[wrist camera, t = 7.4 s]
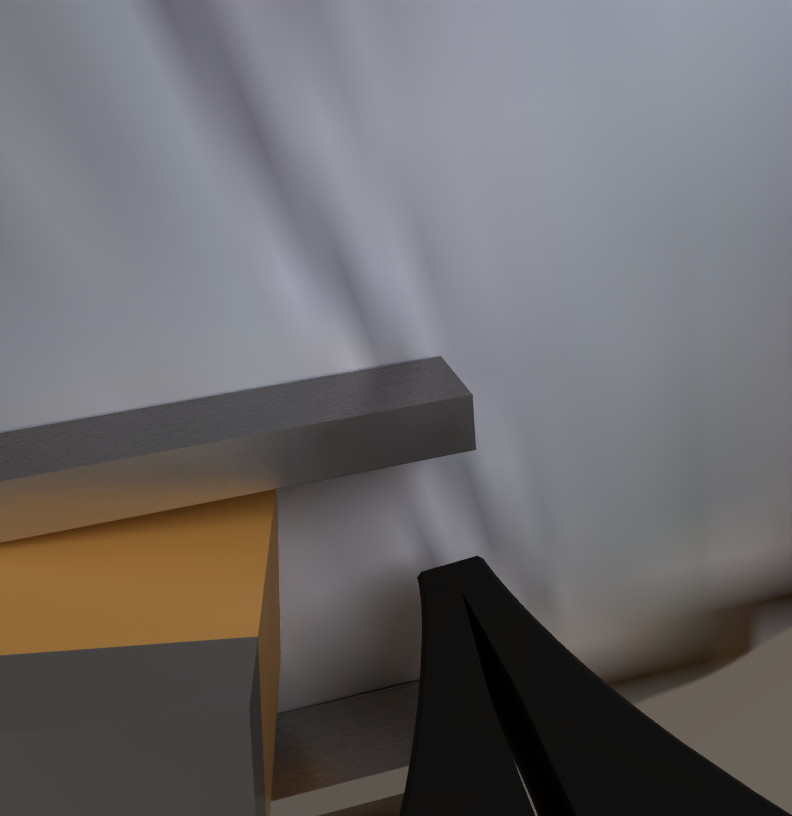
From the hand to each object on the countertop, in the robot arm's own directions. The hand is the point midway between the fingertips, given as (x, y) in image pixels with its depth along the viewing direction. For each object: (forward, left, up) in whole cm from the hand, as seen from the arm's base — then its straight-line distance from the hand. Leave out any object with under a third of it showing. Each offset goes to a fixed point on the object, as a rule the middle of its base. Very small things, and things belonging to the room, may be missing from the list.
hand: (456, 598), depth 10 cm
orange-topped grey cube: (+6, -1, -1) cm, 6 cm away
